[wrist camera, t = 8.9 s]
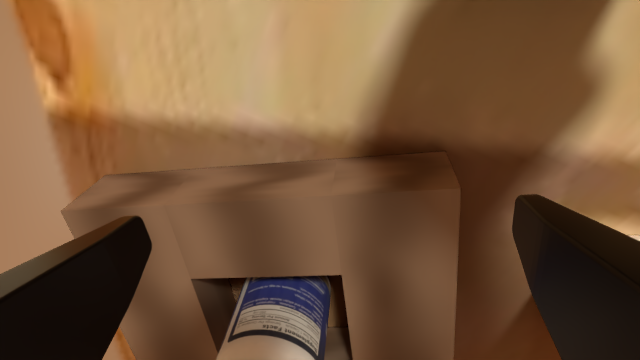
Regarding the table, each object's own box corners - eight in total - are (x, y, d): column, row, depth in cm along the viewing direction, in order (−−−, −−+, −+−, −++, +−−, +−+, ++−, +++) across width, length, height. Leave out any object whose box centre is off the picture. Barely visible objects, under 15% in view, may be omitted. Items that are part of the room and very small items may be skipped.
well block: (445, 151, 21) (461, 188, 18) (440, 372, 29) (450, 427, 26) (105, 175, 24) (60, 211, 21) (188, 369, 32) (166, 418, 29)
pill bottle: (303, 325, 29) (274, 483, 20) (234, 287, 27) (171, 437, 19) (349, 277, 26) (339, 435, 17) (274, 233, 25) (224, 378, 16)
